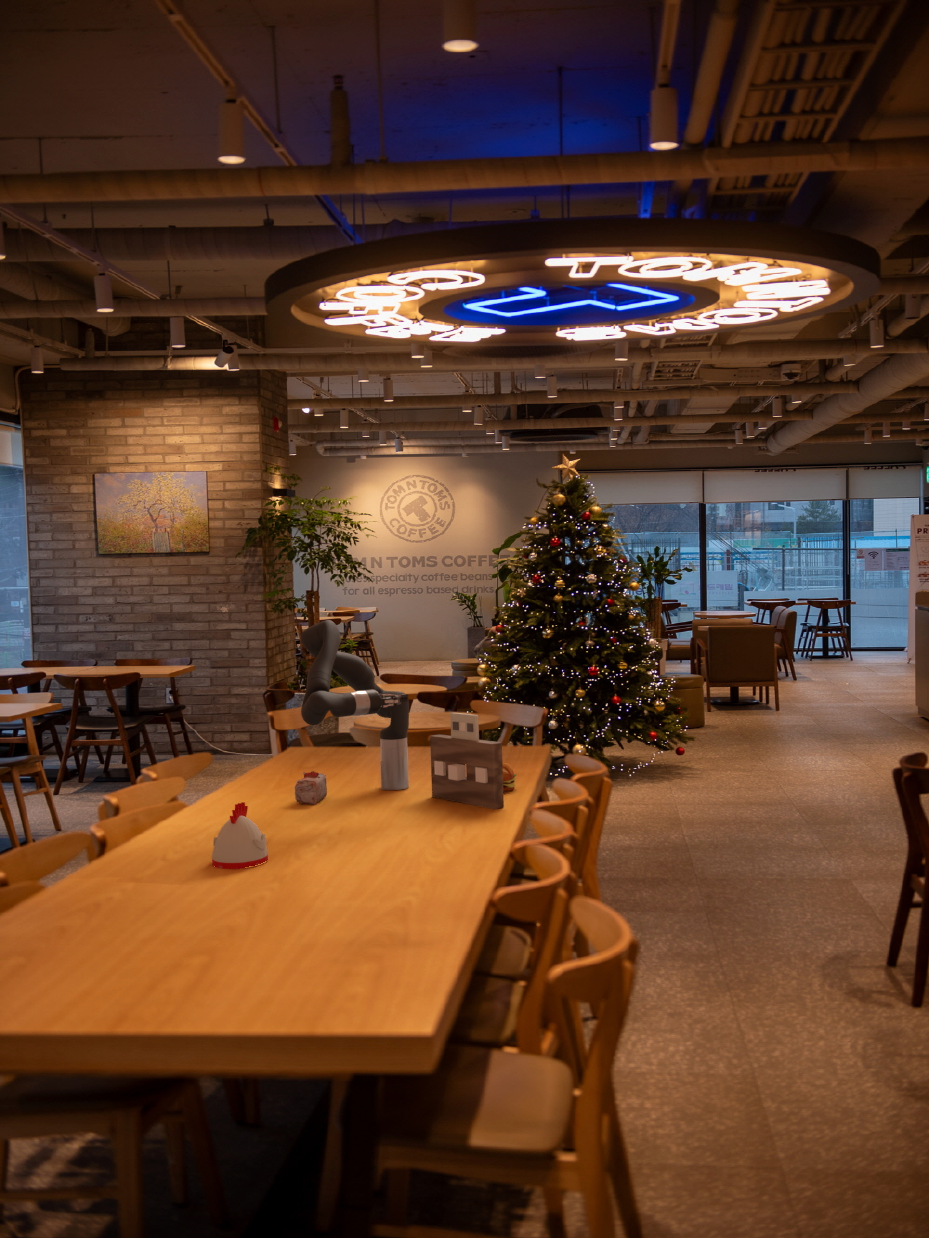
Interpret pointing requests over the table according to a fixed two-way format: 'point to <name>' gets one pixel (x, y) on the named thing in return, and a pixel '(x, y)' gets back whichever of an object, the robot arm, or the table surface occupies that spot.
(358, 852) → the table surface
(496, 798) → the console
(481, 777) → the right button
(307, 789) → the food item
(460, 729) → the pattern sign
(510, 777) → the cheeseburger
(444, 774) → the left button
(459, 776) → the middle button
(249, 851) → the kitchen timer
